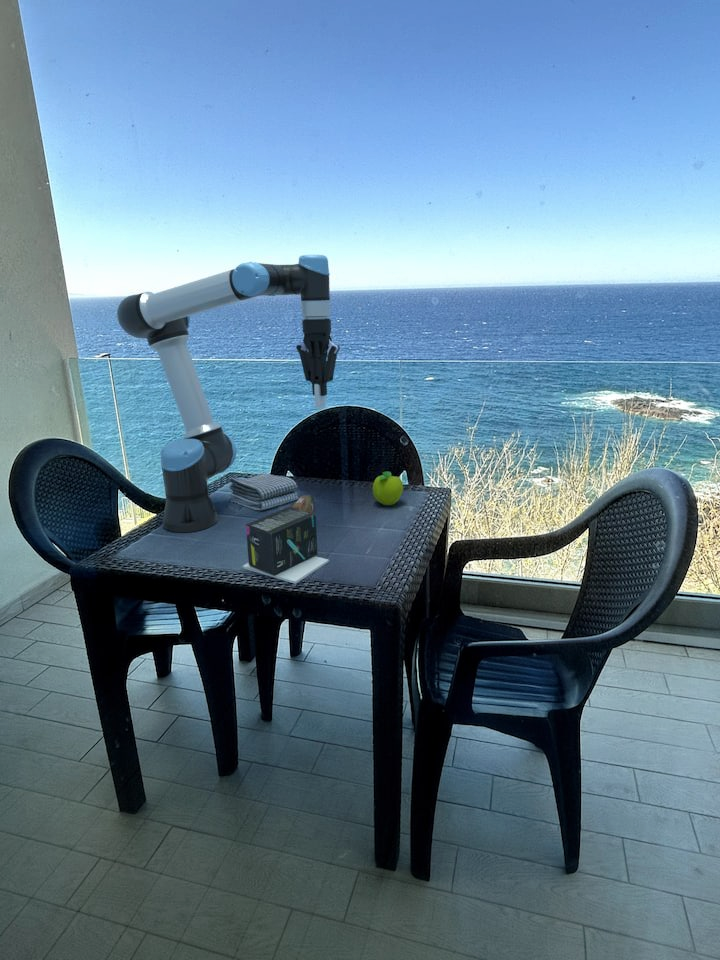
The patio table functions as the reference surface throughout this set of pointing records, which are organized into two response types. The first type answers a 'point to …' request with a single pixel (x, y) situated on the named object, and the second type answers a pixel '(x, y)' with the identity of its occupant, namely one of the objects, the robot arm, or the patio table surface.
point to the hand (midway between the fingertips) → (320, 407)
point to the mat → (295, 570)
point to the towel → (263, 491)
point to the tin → (305, 504)
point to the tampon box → (281, 540)
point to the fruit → (387, 488)
